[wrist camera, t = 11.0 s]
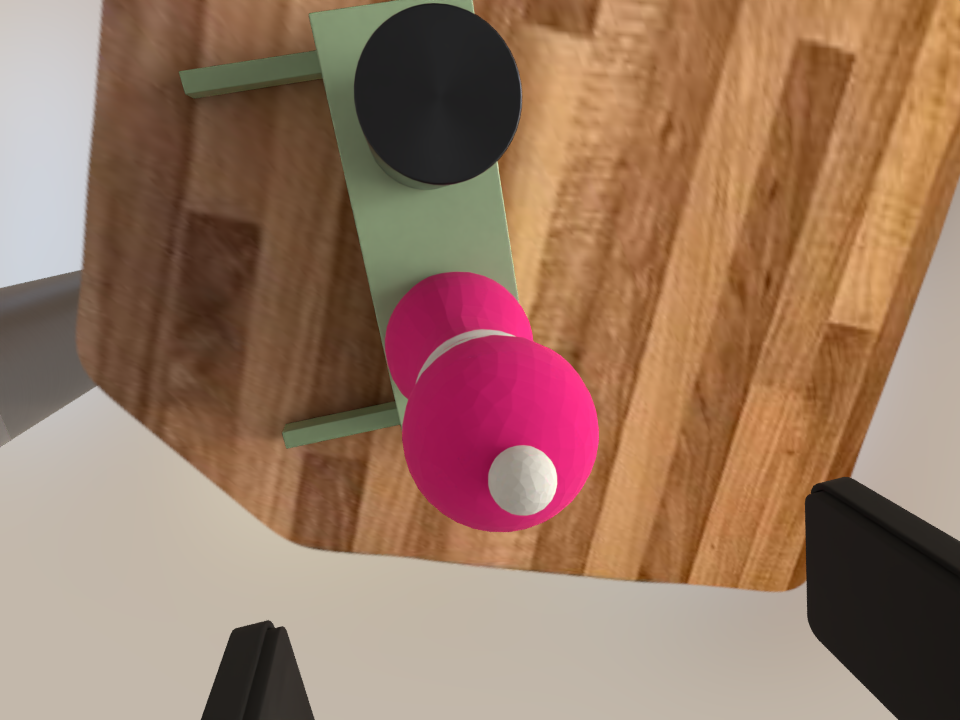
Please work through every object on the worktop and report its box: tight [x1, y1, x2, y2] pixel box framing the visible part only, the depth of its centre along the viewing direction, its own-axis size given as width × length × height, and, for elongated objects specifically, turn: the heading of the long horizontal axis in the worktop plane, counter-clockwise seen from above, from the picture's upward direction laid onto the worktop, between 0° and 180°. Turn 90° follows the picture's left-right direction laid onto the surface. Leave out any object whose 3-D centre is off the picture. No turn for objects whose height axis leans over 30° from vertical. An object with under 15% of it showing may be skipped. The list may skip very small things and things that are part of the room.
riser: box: [179, 0, 519, 449], centre depth 35 cm, size 16×24×7 cm, turn 10°
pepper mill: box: [385, 272, 599, 532], centre depth 24 cm, size 7×7×20 cm
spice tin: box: [354, 3, 522, 190], centre depth 26 cm, size 6×6×10 cm
